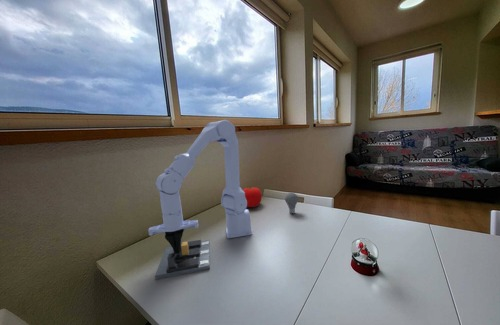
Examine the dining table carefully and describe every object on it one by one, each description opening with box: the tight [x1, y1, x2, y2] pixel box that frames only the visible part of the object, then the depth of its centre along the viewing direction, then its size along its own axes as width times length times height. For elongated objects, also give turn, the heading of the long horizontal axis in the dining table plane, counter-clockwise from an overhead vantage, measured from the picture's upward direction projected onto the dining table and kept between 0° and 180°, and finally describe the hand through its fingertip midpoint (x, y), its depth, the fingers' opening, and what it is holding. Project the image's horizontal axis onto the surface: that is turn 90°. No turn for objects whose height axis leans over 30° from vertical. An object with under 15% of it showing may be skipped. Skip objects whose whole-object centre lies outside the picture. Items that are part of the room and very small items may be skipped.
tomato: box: [242, 186, 263, 208], centre depth 107 cm, size 11×12×10 cm
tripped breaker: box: [181, 241, 189, 255], centre depth 64 cm, size 2×2×3 cm
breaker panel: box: [154, 239, 211, 280], centre depth 64 cm, size 15×15×5 cm
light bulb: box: [284, 192, 299, 214], centre depth 94 cm, size 6×6×10 cm
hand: (177, 251), depth 64 cm, fingers closed
